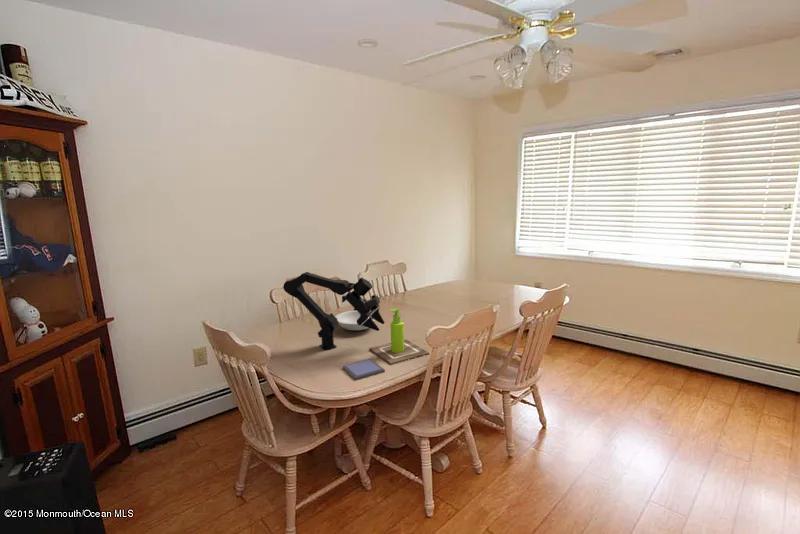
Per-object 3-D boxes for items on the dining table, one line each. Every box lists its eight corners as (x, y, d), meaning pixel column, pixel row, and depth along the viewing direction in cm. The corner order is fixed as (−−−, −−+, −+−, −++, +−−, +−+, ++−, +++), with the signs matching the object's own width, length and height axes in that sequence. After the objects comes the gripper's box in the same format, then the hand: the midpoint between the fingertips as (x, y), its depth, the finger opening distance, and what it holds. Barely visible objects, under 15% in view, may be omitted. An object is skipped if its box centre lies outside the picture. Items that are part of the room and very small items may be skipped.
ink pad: (342, 368, 166) (342, 365, 166) (370, 360, 172) (370, 358, 172) (355, 380, 155) (355, 377, 155) (384, 371, 161) (384, 369, 161)
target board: (369, 349, 185) (369, 347, 185) (405, 340, 195) (405, 338, 195) (390, 364, 168) (390, 362, 168) (429, 354, 178) (429, 352, 178)
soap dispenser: (387, 352, 179) (386, 309, 176) (395, 346, 185) (394, 305, 182) (398, 354, 176) (397, 311, 173) (406, 349, 182) (405, 307, 179)
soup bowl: (343, 320, 228) (343, 309, 227) (384, 322, 223) (383, 311, 222) (327, 334, 205) (327, 322, 204) (372, 337, 200) (372, 325, 199)
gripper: (362, 296, 170) (388, 322, 170) (374, 286, 188) (397, 309, 188) (346, 312, 173) (371, 338, 173) (359, 301, 191) (382, 324, 191)
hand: (381, 326), depth 181 cm, fingers open, 9 cm apart
